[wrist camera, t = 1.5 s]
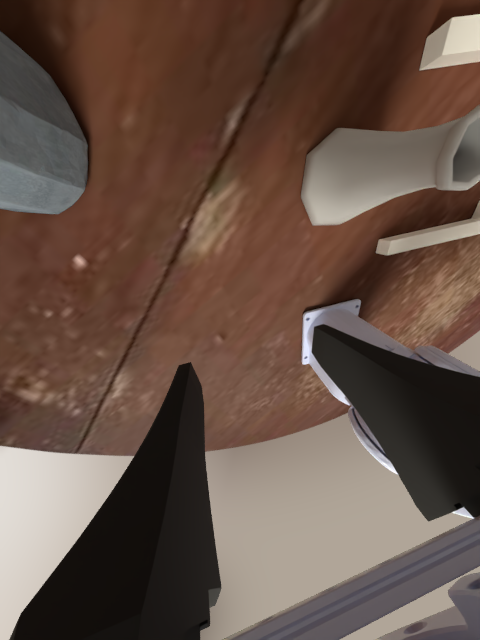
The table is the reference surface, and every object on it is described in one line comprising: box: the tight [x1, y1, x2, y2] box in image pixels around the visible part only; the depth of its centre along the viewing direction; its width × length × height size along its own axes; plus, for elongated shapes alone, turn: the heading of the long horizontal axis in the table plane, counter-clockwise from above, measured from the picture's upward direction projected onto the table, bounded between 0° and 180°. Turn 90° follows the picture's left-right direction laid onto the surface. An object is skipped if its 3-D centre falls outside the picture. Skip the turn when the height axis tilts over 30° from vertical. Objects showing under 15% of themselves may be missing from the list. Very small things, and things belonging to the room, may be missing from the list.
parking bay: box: [376, 14, 480, 256], centre depth 16 cm, size 15×14×2 cm
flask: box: [301, 105, 480, 225], centre depth 12 cm, size 7×7×10 cm
